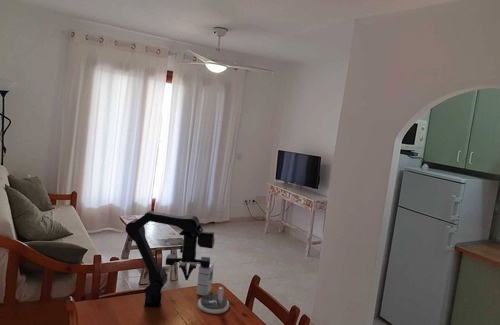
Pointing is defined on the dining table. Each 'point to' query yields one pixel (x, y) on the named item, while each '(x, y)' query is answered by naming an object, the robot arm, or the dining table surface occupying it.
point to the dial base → (212, 311)
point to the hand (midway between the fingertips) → (186, 279)
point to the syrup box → (205, 280)
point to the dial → (214, 300)
